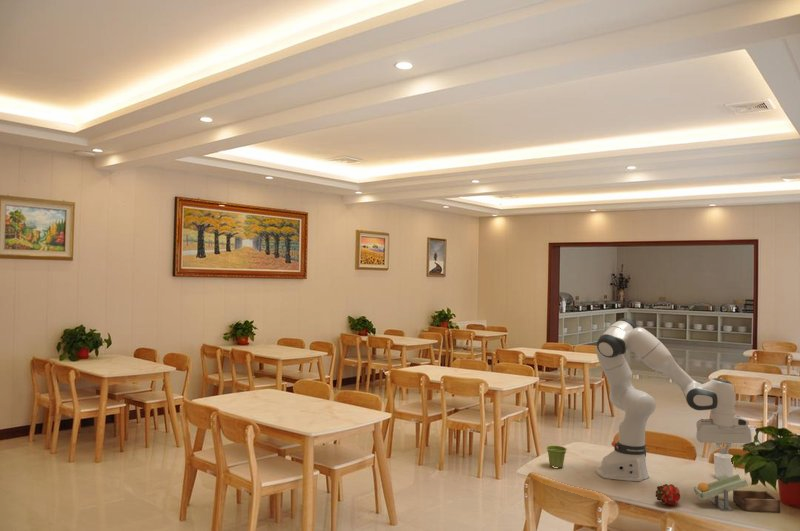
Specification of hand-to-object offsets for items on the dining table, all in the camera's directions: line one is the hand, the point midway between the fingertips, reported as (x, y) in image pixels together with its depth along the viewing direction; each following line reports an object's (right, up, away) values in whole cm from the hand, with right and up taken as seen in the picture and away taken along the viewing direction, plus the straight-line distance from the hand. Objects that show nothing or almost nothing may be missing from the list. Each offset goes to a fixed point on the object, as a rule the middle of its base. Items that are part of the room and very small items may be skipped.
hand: (723, 453), depth 247 cm
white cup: (+14, -19, +26) cm, 35 cm away
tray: (+8, -18, -8) cm, 22 cm away
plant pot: (-57, -19, +41) cm, 73 cm away
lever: (-4, -12, -4) cm, 13 cm away
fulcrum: (-5, -18, -7) cm, 20 cm away
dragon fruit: (-25, -18, -6) cm, 31 cm away
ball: (-12, -12, -7) cm, 18 cm away
